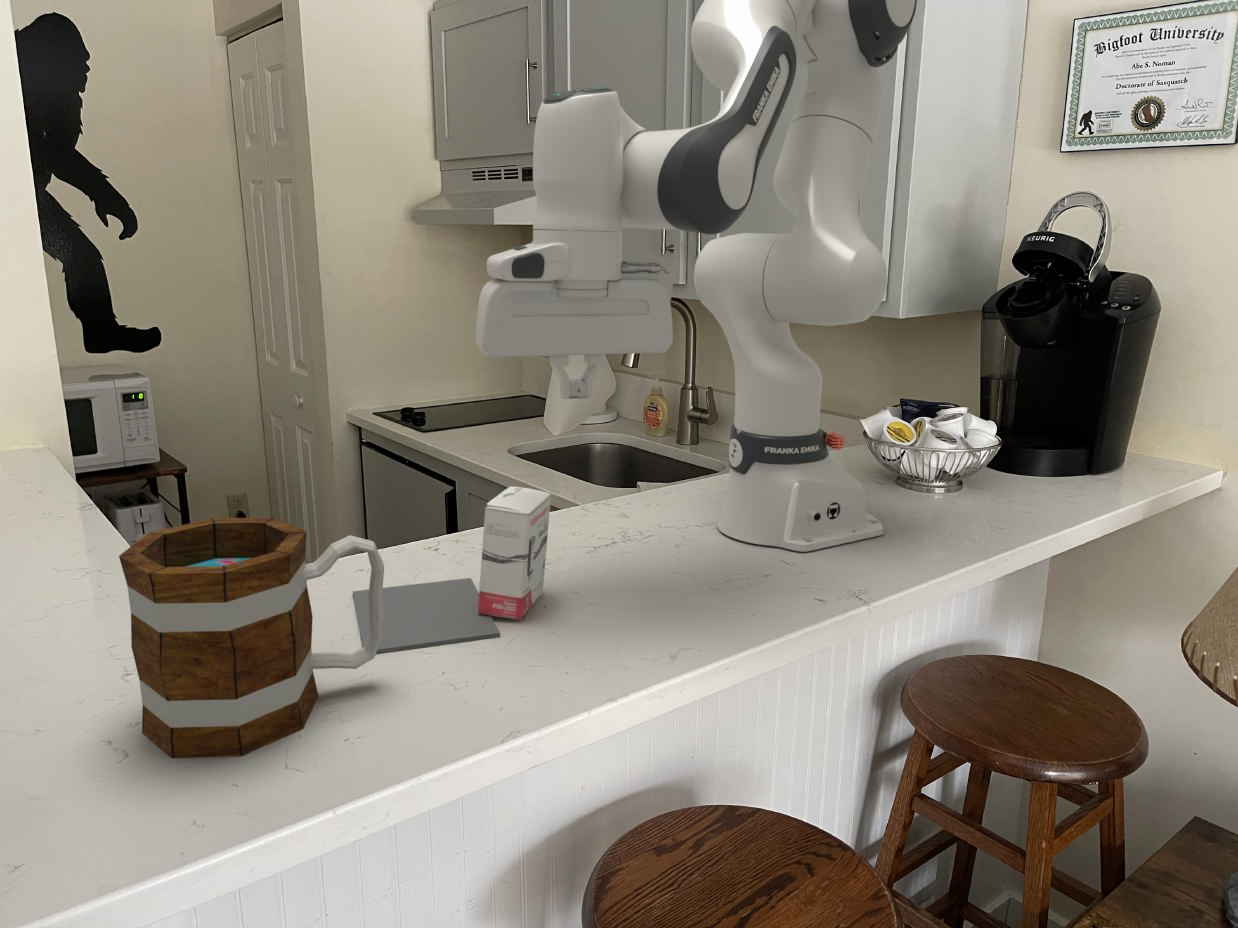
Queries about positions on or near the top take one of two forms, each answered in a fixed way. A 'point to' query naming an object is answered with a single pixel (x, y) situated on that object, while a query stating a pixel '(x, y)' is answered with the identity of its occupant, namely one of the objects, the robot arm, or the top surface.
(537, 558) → the ink box
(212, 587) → the mug
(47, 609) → the top surface
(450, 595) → the mat
